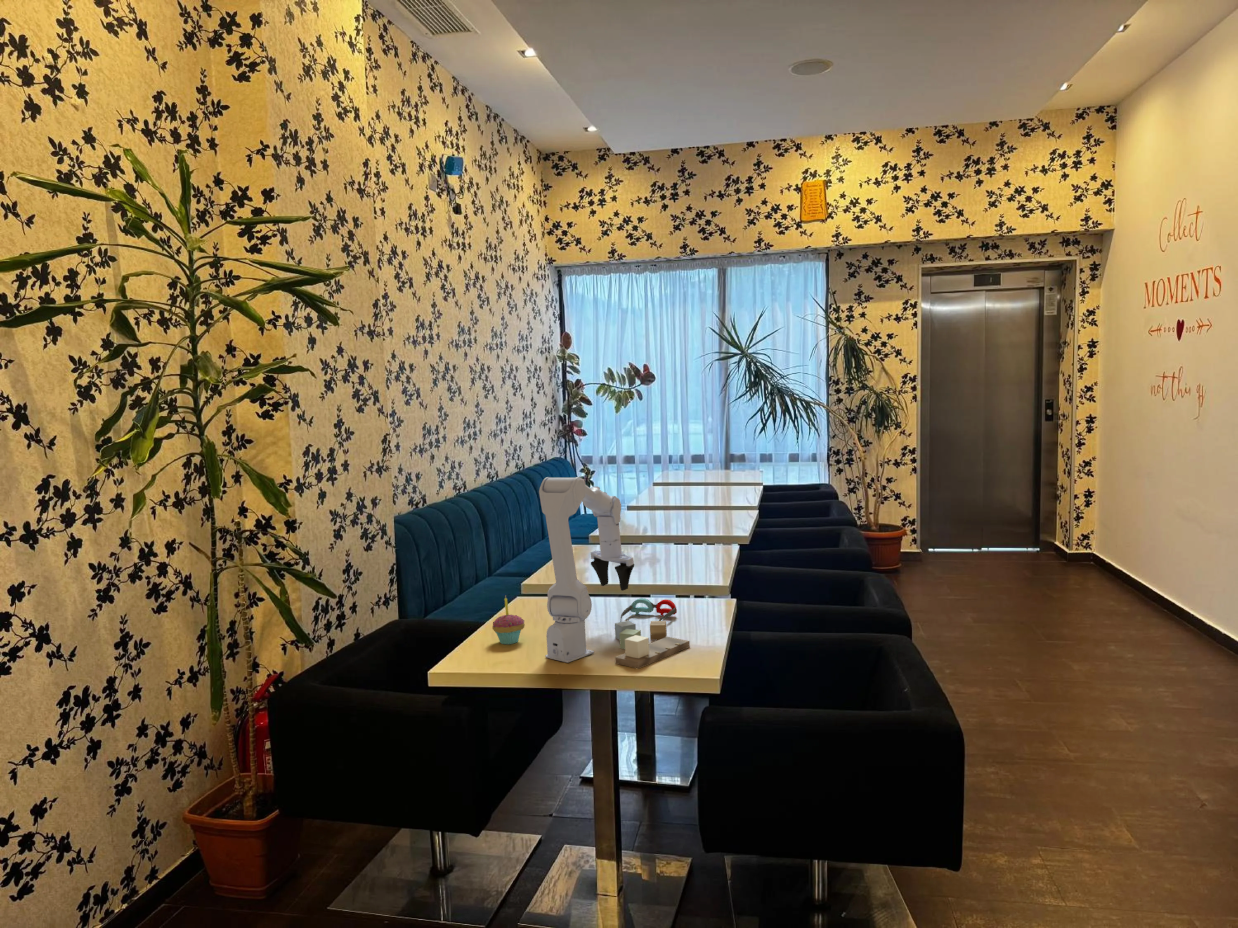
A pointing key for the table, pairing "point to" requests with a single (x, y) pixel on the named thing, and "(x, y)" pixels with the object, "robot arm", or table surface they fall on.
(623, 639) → the sage block
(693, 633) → the table surface
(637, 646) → the slider
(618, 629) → the slate blue block
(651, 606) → the novelty glasses
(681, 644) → the board
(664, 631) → the oak block
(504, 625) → the cupcake
